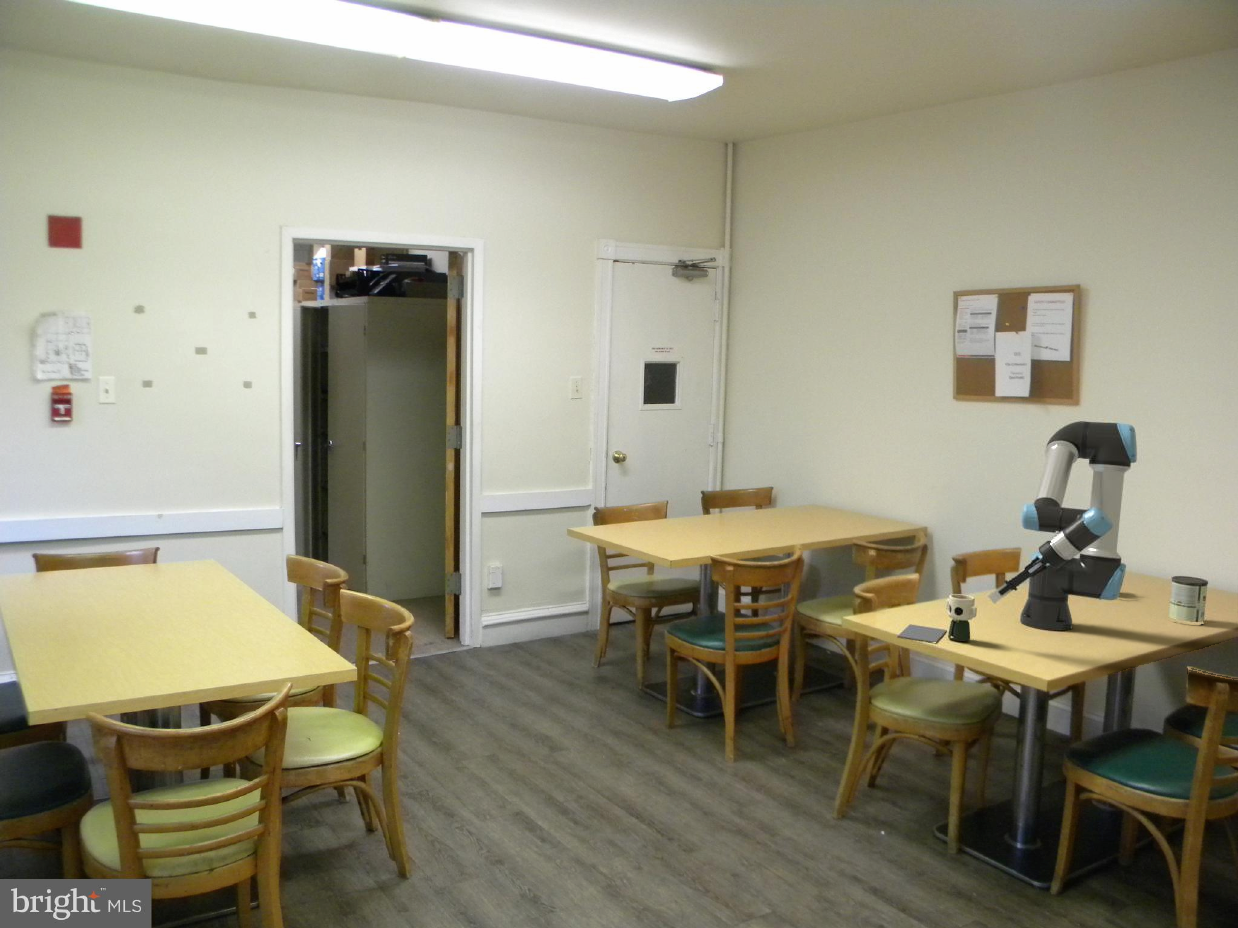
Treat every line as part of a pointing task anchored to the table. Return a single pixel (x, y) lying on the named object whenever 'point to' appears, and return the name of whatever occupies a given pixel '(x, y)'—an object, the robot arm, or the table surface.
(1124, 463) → the robot arm
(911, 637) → the mat
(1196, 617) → the coffee can
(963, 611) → the character mug
